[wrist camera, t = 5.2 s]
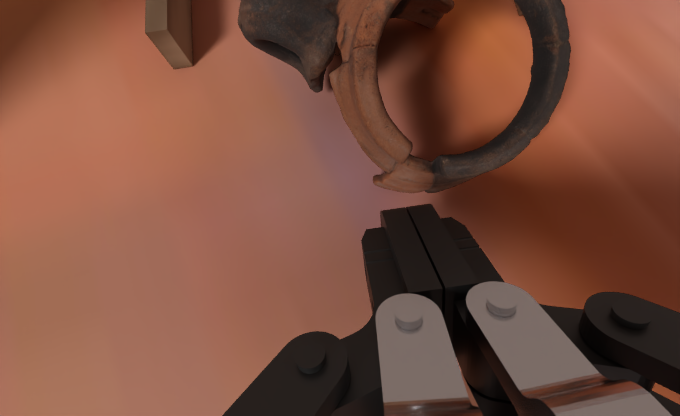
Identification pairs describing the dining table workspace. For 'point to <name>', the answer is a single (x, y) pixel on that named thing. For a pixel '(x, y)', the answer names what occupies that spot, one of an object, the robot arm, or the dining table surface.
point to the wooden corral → (175, 29)
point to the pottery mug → (362, 82)
